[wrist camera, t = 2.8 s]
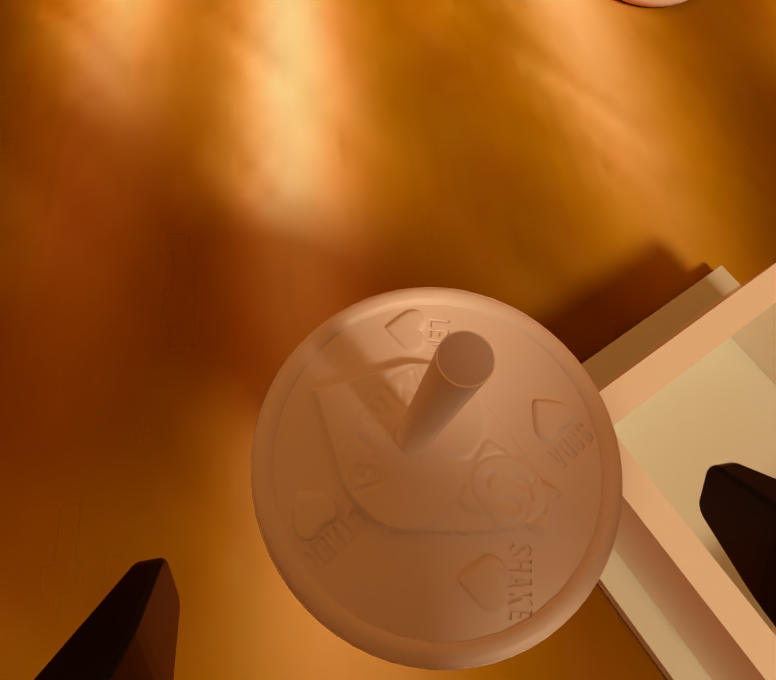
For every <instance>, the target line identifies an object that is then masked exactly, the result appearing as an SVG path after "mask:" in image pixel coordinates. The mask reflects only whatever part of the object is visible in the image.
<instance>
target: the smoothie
mask: <svg viewBox="0 0 776 680" xmlns="http://www.w3.org/2000/svg"><path fill="white" fill-rule="evenodd" d="M251 486H252V497H253V503H254V508H255V514H256V518H257V522H258V525H259V528H260V532H261V535H262V538H263V541H264V543H265V546H266V548H267V550H268V553H269V555H270V557H271V559H272V561H273V563H274V565H275V567H276V569H277V571H278V572H279V574H280V576H281V577H282V579H283V580H284V582H285V583H286V585H287V586H288V588H289V589H290V591H291V592H292V593H293V594H294V596H295V597H296V598H297V599H298V600H299V602H300V603H301V604H302V605H303V607H304V608H305V609H306V610H307V611H308V612H309V613H311V614H312V615H313V616H314V617H315V618H316V619H317V620H318V621H319V622H320V623H321V624H322V625H324V626H325V627H326V628H327V629H329V630H330V631H331V632H332V633H334V634H335V635H336V636H338V637H340V638H341V639H343V640H344V641H346V642H347V643H349V644H351V645H352V646H354V647H356V648H358V649H360V650H362V651H364V652H366V653H368V654H370V655H372V656H375V657H378V658H381V659H383V660H386V661H389V662H392V663H396V664H400V665H404V666H408V667H413V668H421V669H429V670H459V669H468V668H475V667H480V666H484V665H489V664H493V663H496V662H499V661H502V660H505V659H508V658H511V657H513V656H515V655H517V654H519V653H521V652H524V651H526V650H528V649H530V648H531V647H533V646H535V645H536V644H538V643H539V642H541V641H543V640H544V639H546V638H547V637H548V636H550V635H551V634H552V633H553V632H555V631H556V630H557V629H558V628H560V627H561V626H562V625H563V624H564V623H565V622H566V621H567V620H568V619H569V618H570V617H571V616H572V615H573V614H574V613H575V612H576V611H577V610H578V609H579V607H580V606H581V605H582V604H583V602H584V601H585V600H586V599H587V597H588V596H589V594H590V593H591V591H592V590H593V588H594V587H595V585H596V583H597V582H598V580H599V578H600V576H601V574H602V572H603V570H604V568H605V566H606V564H607V562H608V559H609V557H610V554H611V551H612V549H613V546H614V543H615V539H616V535H617V531H618V527H619V522H620V515H621V509H622V495H623V480H622V465H621V457H620V451H619V446H618V442H617V437H616V433H615V430H614V427H613V424H612V421H611V418H610V415H609V413H608V410H607V408H606V406H605V403H604V401H603V399H602V397H601V395H600V393H599V391H598V390H597V388H596V386H595V384H594V383H593V381H592V379H591V378H590V376H589V375H588V373H587V372H586V370H585V369H584V368H583V366H582V365H581V364H580V362H579V361H578V360H577V358H576V357H575V356H574V355H573V354H572V353H571V352H570V351H569V349H568V348H567V347H566V346H565V345H564V344H563V343H562V342H561V341H560V340H559V339H557V338H556V337H555V336H554V335H553V334H552V333H551V332H550V331H548V330H547V329H546V328H544V327H543V326H542V325H541V324H539V323H538V322H537V321H535V320H533V319H532V318H530V317H529V316H527V315H526V314H524V313H522V312H520V311H519V310H517V309H515V308H513V307H511V306H509V305H507V304H504V303H502V302H500V301H497V300H495V299H492V298H489V297H486V296H483V295H480V294H477V293H472V292H468V291H464V290H457V289H450V288H438V287H420V288H408V289H400V290H395V291H390V292H386V293H382V294H379V295H375V296H372V297H369V298H366V299H364V300H362V301H359V302H357V303H355V304H352V305H350V306H349V307H347V308H345V309H343V310H341V311H339V312H337V313H336V314H335V315H333V316H332V317H330V318H329V319H327V320H326V321H324V322H323V323H322V324H320V325H319V326H318V327H317V328H315V329H314V330H313V331H312V332H311V333H310V334H309V335H308V336H307V337H306V338H305V339H304V340H303V341H302V342H301V343H300V344H299V345H298V346H297V347H296V348H295V349H294V351H293V352H292V353H291V354H290V355H289V357H288V358H287V359H286V361H285V362H284V364H283V365H282V367H281V368H280V370H279V371H278V373H277V375H276V377H275V378H274V380H273V382H272V384H271V386H270V388H269V390H268V392H267V395H266V397H265V399H264V402H263V404H262V407H261V410H260V414H259V417H258V420H257V424H256V429H255V433H254V438H253V445H252V454H251Z"/></svg>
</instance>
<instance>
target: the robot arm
mask: <svg viewBox="0 0 776 680" xmlns="http://www.w3.org/2000/svg"><path fill="white" fill-rule="evenodd" d="M699 507H700V511H701V514H702V516H703V518H704V519H705V521H706V523H707V524H708V526H709V527H710V529H711V531H712V532H713V534H714V535H715V537H716V539H717V540H718V542H719V543H720V545H721V547H722V548H723V550H724V551H725V553H726V555H727V556H728V558H729V559H730V561H731V563H732V564H733V566H734V567H735V569H736V571H737V572H738V574H739V575H740V577H741V579H742V580H743V582H744V583H745V585H746V587H747V588H748V590H749V591H750V593H751V594H752V596H753V597H754V599H755V600H756V601H757V603H758V604H759V606H760V607H761V608H762V610H763V611H764V613H765V614H766V615H767V617H768V618H769V619H770V621H771V622H772V623H773V625H774V626H775V627H776V479H775V478H773V477H770V476H768V475H765V474H763V473H761V472H758V471H756V470H753V469H751V468H748V467H746V466H744V465H741V464H738V463H734V462H729V463H723V464H717V465H713V466H711V467H710V468H709V469H708V470H707V472H706V476H705V480H704V484H703V488H702V492H701V496H700V500H699ZM179 612H180V601H179V595H178V591H177V588H176V585H175V582H174V579H173V576H172V573H171V570H170V567H169V564H168V562H167V561H166V560H165V559H164V558H156V559H151V560H145V561H140V562H137V563H136V564H134V565H133V566H132V567H131V568H130V569H129V571H128V572H127V573H126V574H125V575H124V576H123V577H122V579H121V580H120V581H119V582H118V583H117V584H116V586H115V587H114V588H113V589H112V590H111V591H110V592H109V594H108V595H107V596H106V597H105V598H104V599H103V601H102V602H101V603H100V604H99V605H98V606H97V608H96V609H95V610H94V611H93V612H92V613H91V614H90V616H89V617H88V618H87V619H86V620H85V621H84V623H83V624H82V625H81V626H80V627H79V628H78V629H77V631H76V632H75V633H74V634H73V635H72V636H71V638H70V639H69V640H68V641H67V642H66V643H65V644H64V646H63V647H62V648H61V649H60V650H59V651H58V653H57V654H56V655H55V656H54V657H53V658H52V659H51V661H50V662H49V663H48V664H47V665H46V666H45V668H44V669H43V670H42V671H41V672H40V673H39V674H38V676H37V677H36V678H35V679H34V680H173V677H174V666H175V655H176V644H177V634H178V623H179Z"/></svg>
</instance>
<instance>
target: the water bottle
mask: <svg viewBox="0 0 776 680" xmlns="http://www.w3.org/2000/svg"><path fill="white" fill-rule="evenodd" d="M622 1H625V2H627V3H631V4H634V5H639V6H645V7H666V6H671V5H676V4H679V3H682V2H685V1H687V0H622Z"/></svg>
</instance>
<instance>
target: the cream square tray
mask: <svg viewBox="0 0 776 680" xmlns="http://www.w3.org/2000/svg"><path fill="white" fill-rule="evenodd" d="M581 365H582V366H583V368H584V369H585V370H586V372H587V373H588V375H589V376H590V378H591V379H592V381H593V383H594V384H595V386H596V388H597V390H598V391H599V393H600V395H601V397H602V399H603V401H604V403H605V406H606V408H607V410H608V413H609V415H610V418H611V421H612V424H613V427H614V430H615V433H616V437H617V442H618V446H619V451H620V457H621V465H622V480H623V495H622V509H621V515H620V522H619V527H618V531H617V535H616V539H615V543H614V546H613V549H612V551H611V554H610V557H609V559H608V562H607V564H606V566H605V568H604V570H603V572H602V574H601V576H600V578H599V580H598V582H597V584H598V585H599V586H600V588H601V589H602V591H603V592H604V593H605V595H606V596H607V597H608V599H609V600H610V602H611V603H612V604H613V606H614V607H615V608H616V610H617V611H618V613H619V614H620V615H621V617H622V618H623V619H624V621H625V622H626V624H627V625H628V626H629V628H630V629H631V630H632V632H633V633H634V635H635V636H636V637H637V639H638V640H639V641H640V643H641V644H642V646H643V647H644V648H645V650H646V651H647V652H648V654H649V655H650V657H651V658H652V659H653V661H654V662H655V663H656V665H657V666H658V668H659V669H660V670H661V672H662V673H663V674H664V676H665V677H666V679H667V680H776V627H775V626H774V625H773V623H772V622H771V621H770V619H769V618H768V617H767V615H766V614H765V613H764V611H763V610H762V608H761V607H760V606H759V604H758V603H757V601H756V600H755V599H754V597H753V596H752V594H751V593H750V591H749V590H748V588H747V587H746V585H745V583H744V582H743V580H742V579H741V577H740V575H739V574H738V572H737V571H736V569H735V567H734V566H733V564H732V563H731V561H730V559H729V558H728V556H727V555H726V553H725V551H724V550H723V548H722V547H721V545H720V543H719V542H718V540H717V539H716V537H715V535H714V534H713V532H712V531H711V529H710V527H709V526H708V524H707V523H706V521H705V519H704V518H703V516H702V514H701V511H700V507H699V500H700V496H701V492H702V488H703V484H704V480H705V476H706V472H707V470H708V469H709V468H710V467H711V466H713V465H717V464H723V463H729V462H734V463H738V464H741V465H744V466H746V467H748V468H751V469H753V470H756V471H758V472H761V473H763V474H765V475H768V476H770V477H773V478H775V479H776V263H774V264H773V265H771V266H770V267H768V268H766V269H765V270H763V271H762V272H760V273H759V274H757V275H755V276H754V277H752V278H751V279H749V280H748V281H746V282H745V283H743V284H741V285H740V284H739V283H738V282H737V281H736V280H735V279H734V278H733V277H732V276H731V275H730V274H729V273H728V271H727V270H726V269H725V268H724V267H723V266H722V265H721V266H720V267H718V268H717V269H715V270H714V271H713V272H711V273H710V274H708V275H707V276H706V277H704V278H703V279H701V280H700V281H698V282H697V283H696V284H694V285H693V286H691V287H690V288H689V289H687V290H686V291H684V292H683V293H681V294H680V295H679V296H677V297H676V298H674V299H673V300H671V301H670V302H669V303H667V304H666V305H664V306H663V307H662V308H660V309H659V310H657V311H656V312H654V313H653V314H652V315H650V316H649V317H647V318H646V319H644V320H643V321H642V322H640V323H639V324H637V325H636V326H635V327H633V328H632V329H630V330H629V331H627V332H626V333H625V334H623V335H622V336H620V337H619V338H618V339H616V340H615V341H613V342H612V343H610V344H609V345H608V346H606V347H605V348H603V349H602V350H600V351H599V352H598V353H596V354H595V355H593V356H592V357H591V358H589V359H588V360H586V361H585V362H583V363H582V364H581Z"/></svg>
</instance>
